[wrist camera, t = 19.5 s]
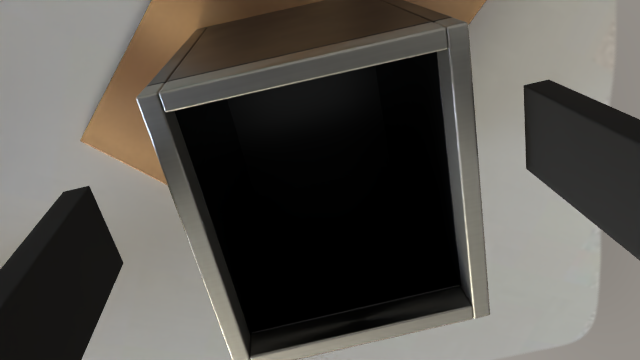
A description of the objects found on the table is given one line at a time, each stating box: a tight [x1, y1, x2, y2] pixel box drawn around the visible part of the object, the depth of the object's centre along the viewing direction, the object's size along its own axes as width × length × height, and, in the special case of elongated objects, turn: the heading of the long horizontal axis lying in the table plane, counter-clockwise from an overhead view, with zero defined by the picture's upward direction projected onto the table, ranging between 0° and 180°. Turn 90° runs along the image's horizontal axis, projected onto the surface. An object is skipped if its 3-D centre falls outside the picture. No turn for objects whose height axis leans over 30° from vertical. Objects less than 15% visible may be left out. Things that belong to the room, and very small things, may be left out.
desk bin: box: [136, 0, 490, 360], centre depth 21 cm, size 13×9×10 cm
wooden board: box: [80, 0, 486, 185], centre depth 26 cm, size 20×14×1 cm
